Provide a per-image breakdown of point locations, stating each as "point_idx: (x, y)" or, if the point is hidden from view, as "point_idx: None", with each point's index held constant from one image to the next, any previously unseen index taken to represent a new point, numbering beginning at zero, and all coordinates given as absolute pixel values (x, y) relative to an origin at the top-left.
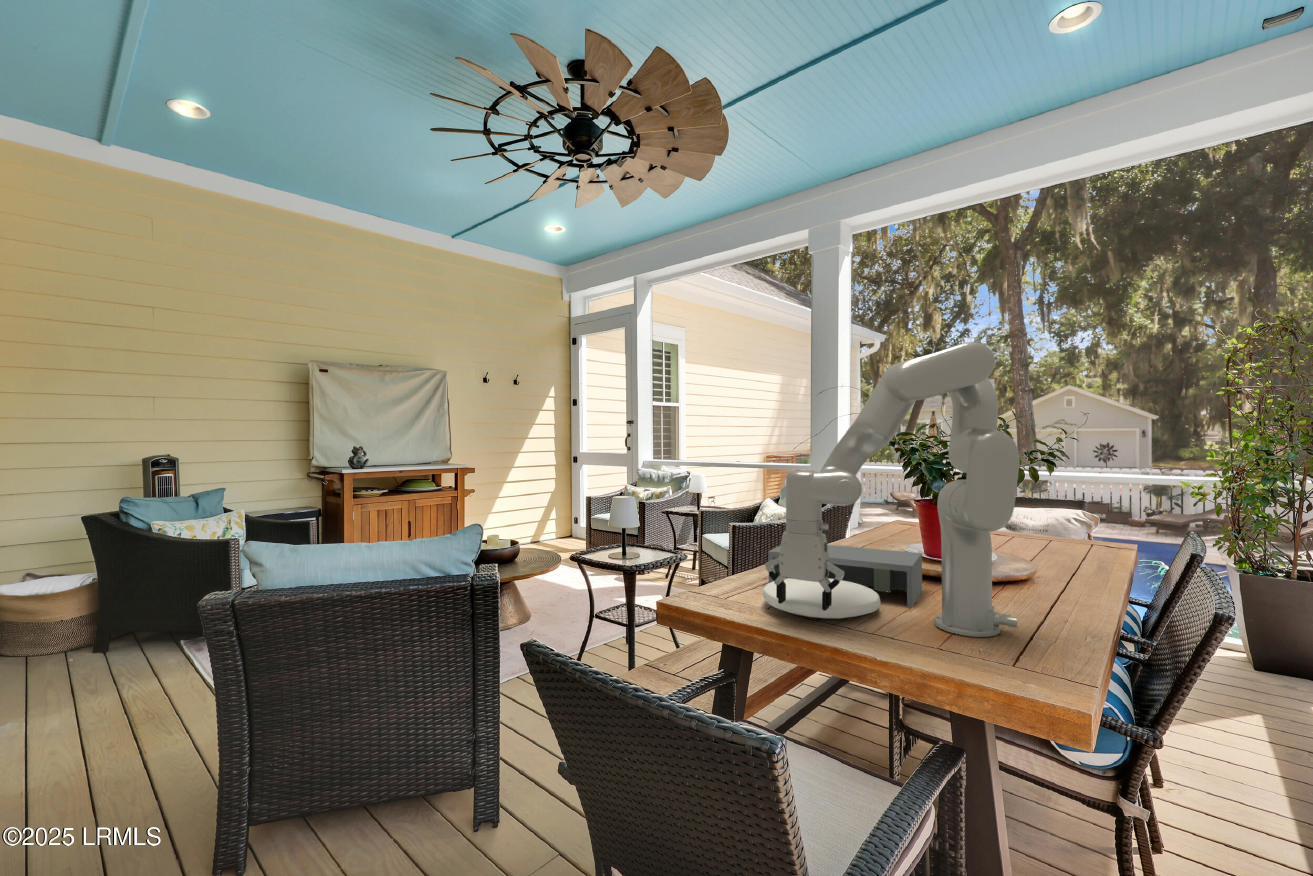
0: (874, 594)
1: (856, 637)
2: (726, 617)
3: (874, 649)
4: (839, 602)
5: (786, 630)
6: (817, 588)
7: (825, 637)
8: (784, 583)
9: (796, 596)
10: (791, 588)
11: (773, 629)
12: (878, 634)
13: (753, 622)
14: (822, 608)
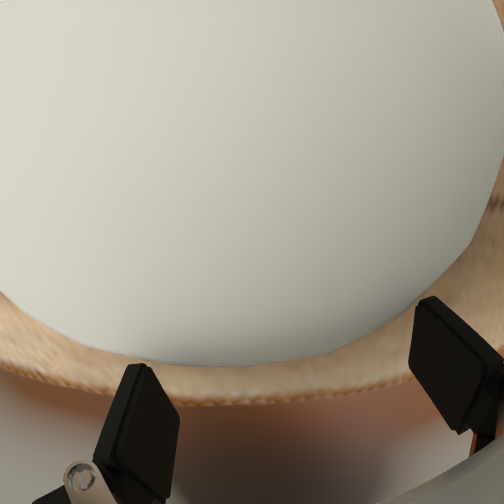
0: None
1: (463, 270)
2: (34, 365)
3: (491, 315)
4: (471, 201)
5: (242, 373)
6: (231, 10)
7: (386, 339)
8: (120, 467)
9: (173, 308)
10: (30, 170)
11: (200, 387)
12: (501, 198)
13: (105, 368)
14: (412, 368)
